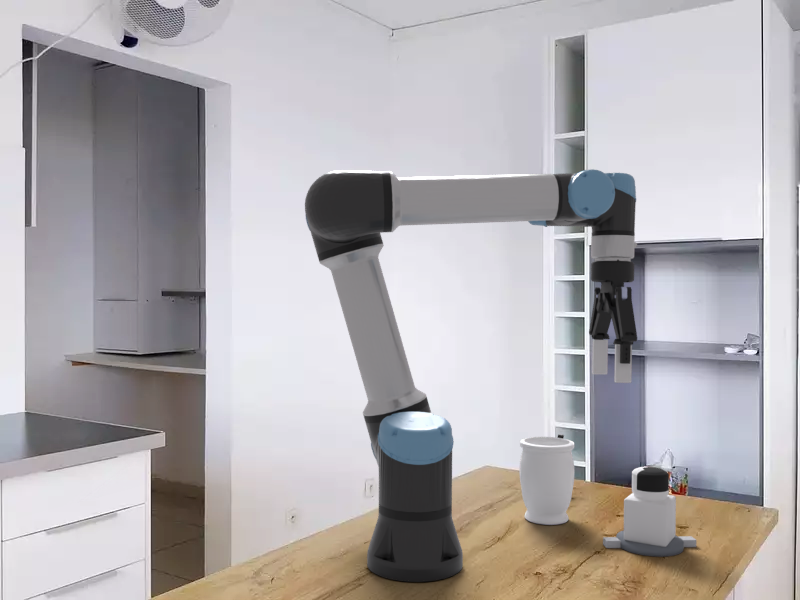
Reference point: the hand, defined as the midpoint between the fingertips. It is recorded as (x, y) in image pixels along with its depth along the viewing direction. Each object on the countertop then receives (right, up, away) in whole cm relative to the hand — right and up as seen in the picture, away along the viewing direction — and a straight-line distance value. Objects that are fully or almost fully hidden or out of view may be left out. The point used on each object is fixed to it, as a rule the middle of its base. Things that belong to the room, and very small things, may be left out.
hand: (610, 378), depth 139 cm
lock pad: (+5, -28, -5) cm, 29 cm away
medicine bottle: (+5, -27, -7) cm, 28 cm away
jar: (-10, -28, +9) cm, 31 cm away
